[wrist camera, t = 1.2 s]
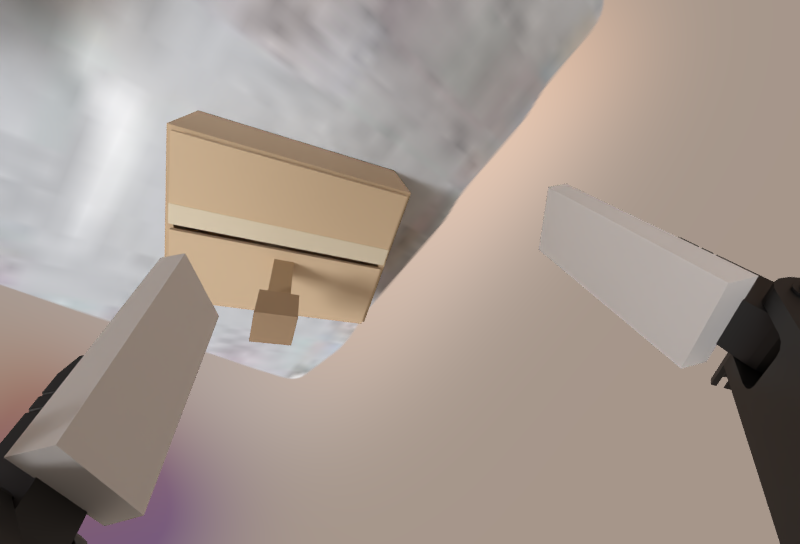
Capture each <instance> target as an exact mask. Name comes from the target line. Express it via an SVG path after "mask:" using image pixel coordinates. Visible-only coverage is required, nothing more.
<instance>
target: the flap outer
mask: <svg viewBox="0 0 800 544" xmlns="http://www.w3.org/2000/svg"><path fill="white" fill-rule="evenodd" d="M184 253H185V254H186V255H187V257H188V259H189V261H190V263H191V265H192V267H193V269H194V270H195V272H196V274H197V276H198V278H199V280H200V282H201V284H202V285H203V287H204V289H205V291H206V293H207V295H208V297H209V299H210V301H211V302H212V304H213V305H217V306H225V307H233V308H241V309H249V310H254V315H253V321H252V327H251V333H250V338H249V341H251V342H262V343H272V344H283V345H291V343H292V339H293V335H294V331H295V327H296V323H297V319H298V316H304V317H312V318H320V319H328V320H336V321H343V322H351V323H359V324H361V322H362V320H363V317H364V314H365V311H366V309H367V306H368V303H369V300H370V298H371V295H372V292H373V289H374V287H375V284H376V281H377V278H378V276H379V273H380V270H381V269H380V268H379V267H374V266H369V265H363V264H358V263H353V262H348V261H343V260H337V259H332V258H327V257H322V256H317V255H311V254H306V253H301V252H296V251H291V250H286V249H280V248H275V247H270V246H265V245H260V244H254V243H249V242H244V241H239V240H234V239H228V238H223V237H218V236H213V235H208V234H203V233H197V232H192V231H187V230H182V229H177V228H170V229H169V256H173V255H179V254H184Z"/></svg>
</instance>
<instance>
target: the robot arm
mask: <svg viewBox="0 0 800 544" xmlns="http://www.w3.org/2000/svg"><path fill="white" fill-rule="evenodd" d="M539 250H540V251H541V252H542V253H543V254H545V255H546V256H547V257H548V258H549V259H550V260H552V261H553V262H554V263H555V264H557V265H558V266H559V267H560V268H561V269H562V270H564V271H565V272H566V273H567V274H569V275H570V276H571V277H572V278H573V279H574V280H576V281H577V282H578V283H579V284H581V285H582V286H583V287H584V288H585V289H587V290H588V291H589V292H590V293H591V294H592V295H594V296H595V297H596V298H597V299H598V300H600V301H601V302H602V303H603V304H604V305H606V306H607V307H608V308H609V309H610V310H612V311H613V312H614V313H615V314H616V315H618V316H619V317H620V318H621V319H622V320H624V321H625V322H626V323H627V324H628V325H630V326H631V327H632V328H633V329H634V330H636V331H637V332H638V333H639V334H640V335H642V336H643V337H644V338H645V339H646V340H648V341H649V342H650V343H651V344H652V345H654V346H655V347H656V348H657V349H658V350H660V351H661V352H662V353H663V354H664V355H666V356H667V357H668V358H669V359H670V360H672V361H673V362H674V363H675V364H676V365H677V366H679V367H680V368H681V369H682V368H685V367H689V366H692V365H696V364H700V363H703V362H706V361H707V360H708V358H709V356H710V355H711V353H712V352H713V350H714V348H715V346H716V345H719V346H720V347H721V348H723V349H724V350H726V351H727V352H728V353H727V355H726V357H725V358H724V360H723V361H722V363H721V364H720V366H719V367H718V369H717V371H716V372H715V374H714V375H713V377H712V378H711V385H715V386H716V385H717V384H718V383H719V381H720V380H721V378H722V377H727V378H728V382H727V383H726V385H725V386H724V388H726V389H730V390H732V393H733V396H734V400H735V402H736V406H737V409H738V412H739V416H740V419H741V422H742V425H743V428H744V431H745V434H746V438H747V441H748V444H749V447H750V450H751V453H752V456H753V460H754V463H755V466H756V469H757V472H758V475H759V478H760V482H761V485H762V488H763V491H764V494H765V497H766V500H767V504H768V507H769V510H770V513H771V516H772V519H773V522H774V525H775V529H776V532H777V535H778V538H779V541H780V544H800V278H795V277H787V278H780V279H778V280H776V281H775V282H773V281H770V280H768V279H766V278H764V277H762V276H760V275H758V274H756V273H754V272H752V271H749V270H747V269H745V268H743V267H741V266H739V265H737V264H735V263H733V262H731V261H729V260H726V259H724V258H722V257H720V256H718V255H714V254H713V253H712V252H710V251H708V250H706V249H703V248H699V246H697V245H695V244H693V243H691V242H689V241H687V240H685V239H682V238H679V237H676V236H674V235H672V234H670V233H668V232H666V231H664V230H662V229H660V228H658V227H656V226H654V225H652V224H649V223H647V222H645V221H643V220H641V219H639V218H637V217H635V216H633V215H631V214H629V213H627V212H624V211H622V210H620V209H618V208H616V207H614V206H612V205H610V204H608V203H606V202H603V201H602V200H599V199H597V198H595V197H593V196H591V195H589V194H587V193H585V192H583V191H581V190H579V189H577V188H574V187H572V186H570V185H568V184H562V185H557V186H551V187H548V193H547V200H546V206H545V212H544V219H543V226H542V232H541V238H540V245H539ZM218 317H219V316H218V314H217V312H216V310H215V308H214V306H213V304H212V302H211V301H210V299H209V297H208V295H207V293H206V291H205V289H204V287H203V285H202V284H201V282H200V280H199V278H198V276H197V274H196V272H195V270H194V269H193V267H192V265H191V263H190V261H189V259H188V257H187V255H186V254H185V253H184V254H179V255H173V256H168V257H162V258H160V259H159V261H158V262H157V263H156V264H155V266H154V267H153V268H152V270H151V271H150V272H149V273H148V275H147V276H146V277H145V278H144V280H143V281H142V282H141V284H140V285H139V286H138V287H137V289H136V290H135V291H134V292H133V294H132V295H131V296H130V297H129V299H128V300H127V301H126V303H125V304H124V305H123V306H122V308H121V309H120V310H119V311H118V313H117V314H116V315H115V317H114V318H113V319H112V320H111V322H110V323H109V324H108V326H107V327H106V328H105V329H104V331H103V332H102V333H101V334H100V336H99V337H98V338H97V339H96V341H95V342H94V343H93V345H92V346H91V347H90V348H89V350H88V351H87V352H86V354H85V355H83V356H79V357H78V358H77V359H76V360H74V361H73V362H72V363H71V364H69V365H68V366H67V367H66V368H64V369H63V370H62V371H61V372H60V373H58V374H57V376H56V377H55V378H54V379H53V380H52V381H51V383H50V384H49V385H48V386H47V388H46V389H45V390H44V391H43V392H42V394H43V395H42V396H40V397H38V399H37V400H36V401H35V402H34V403H33V405H32V406H31V407H30V408H29V413H25V414H24V415H23V417H22V418H21V419H20V420H19V422H18V423H17V424H16V425H15V426H14V428H13V429H12V430H11V431H10V432H9V434H8V435H7V436H6V437H5V438H4V440H3V441H2V442H1V443H0V544H87V541H86V540H85V539H84V538H82V536H80V535H79V534H77V532H78V530H79V528H80V526H81V524H82V522H83V520H84V518H85V516H86V514H87V515H89V516H90V517H92V518H93V519H95V520H96V521H98V522H99V523H101V524H102V525H104V526H106V525H110V524H113V523H117V522H121V521H125V520H129V519H132V518H136V517H139V516H143V515H144V513H145V511H146V508H147V505H148V503H149V500H150V497H151V495H152V492H153V489H154V487H155V484H156V481H157V479H158V476H159V474H160V471H161V468H162V465H163V463H164V460H165V458H166V455H167V452H168V450H169V447H170V444H171V442H172V439H173V436H174V434H175V431H176V428H177V426H178V423H179V420H180V418H181V415H182V412H183V410H184V407H185V404H186V402H187V399H188V396H189V394H190V391H191V389H192V386H193V383H194V381H195V378H196V375H197V373H198V370H199V367H200V364H201V362H202V359H203V356H204V354H205V351H206V349H207V346H208V343H209V341H210V338H211V336H212V333H213V330H214V328H215V325H216V322H217V320H218Z"/></svg>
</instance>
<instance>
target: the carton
mask: <svg viewBox="0 0 800 544" xmlns="http://www.w3.org/2000/svg"><path fill="white" fill-rule="evenodd" d="M410 195H411V193H410V191H409V190H408V189H407V187H406V186H405V185H404V183H403V182H402V180H401V179H400V178H399V176H398V175H397V174H396V172H395V171H394V170H390V169H387V168H384V167H381V166H377V165H374V164H371V163H368V162H364V161H361V160H358V159H355V158H351V157H348V156H345V155H342V154H338V153H335V152H332V151H328V150H325V149H322V148H319V147H315V146H312V145H309V144H306V143H302V142H299V141H296V140H293V139H289V138H286V137H283V136H280V135H276V134H273V133H270V132H267V131H263V130H260V129H257V128H254V127H250V126H247V125H244V124H241V123H237V122H234V121H231V120H228V119H224V118H221V117H218V116H215V115H211V114H208V113H205V112H202V111H196V112H193V113H191V114H188V115H186V116H183V117H181V118H178V119H176V120H174V121H171V122H169V123H167V141H166V207H165V257H168V256H169V229H170V228H177V229H182V230H187V231H192V232H197V233H203V234H208V235H213V236H218V237H223V238H228V239H234V240H239V241H244V242H249V243H254V244H260V245H265V246H270V247H275V248H280V249H286V250H291V251H296V252H301V253H306V254H311V255H317V256H322V257H327V258H332V259H337V260H343V261H348V262H353V263H358V264H363V265H369V266H374V267H379V268H380V269H381V270H380V273H379V276H378V278H377V281H376V284H375V287H374V289H373V292H372V295H371V298H370V300H369V303H368V306H367V309H366V311H365V314H364V317H363V320H362V321H363V322H364V320H365V317H366V315H367V312H368V309H369V307H370V304H371V301H372V298H373V296H374V293H375V290H376V288H377V285H378V282H379V279H380V277H381V274H382V271H383V268H384V266H385V263H386V260H387V257H388V255H389V252H390V249H391V247H392V244H393V241H394V238H395V236H396V233H397V230H398V227H399V225H400V222H401V219H402V216H403V214H404V211H405V208H406V206H407V203H408V200H409V197H410Z"/></svg>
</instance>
